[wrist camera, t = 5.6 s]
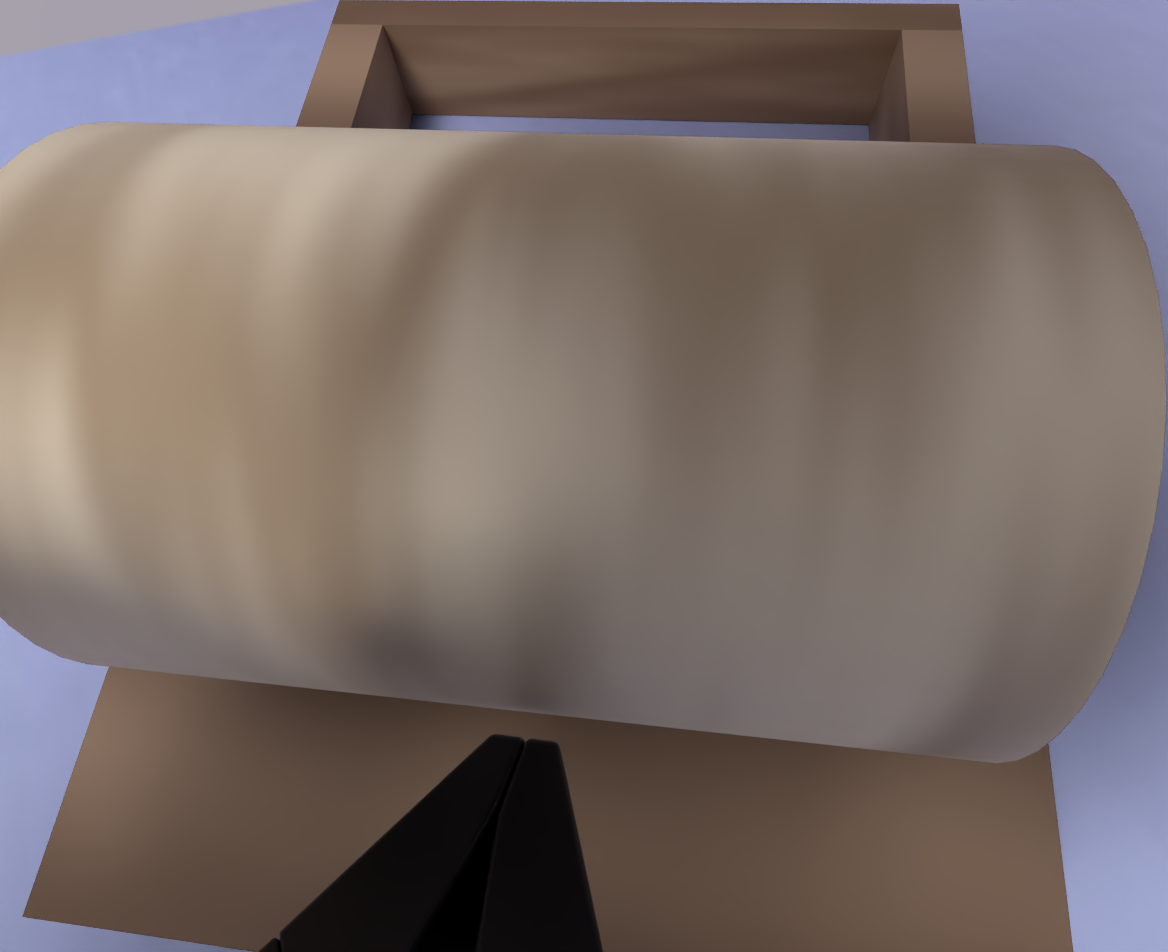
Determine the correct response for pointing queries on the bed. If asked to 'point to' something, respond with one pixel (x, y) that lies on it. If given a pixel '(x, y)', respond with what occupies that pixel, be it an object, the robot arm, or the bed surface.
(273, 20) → the bed surface
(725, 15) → the paper towel roll tray
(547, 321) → the roller
